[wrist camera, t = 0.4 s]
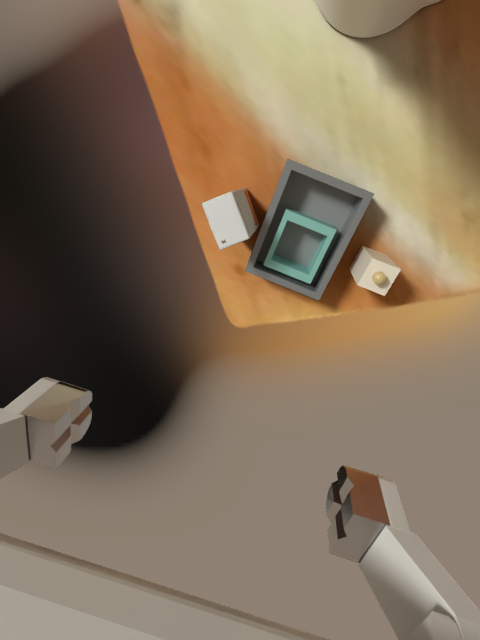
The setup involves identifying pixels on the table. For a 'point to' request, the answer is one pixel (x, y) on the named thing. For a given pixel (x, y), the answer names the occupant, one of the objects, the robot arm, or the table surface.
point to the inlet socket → (309, 272)
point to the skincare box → (231, 217)
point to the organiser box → (300, 242)
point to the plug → (374, 270)
